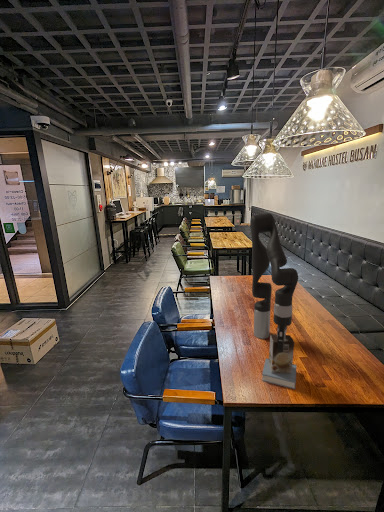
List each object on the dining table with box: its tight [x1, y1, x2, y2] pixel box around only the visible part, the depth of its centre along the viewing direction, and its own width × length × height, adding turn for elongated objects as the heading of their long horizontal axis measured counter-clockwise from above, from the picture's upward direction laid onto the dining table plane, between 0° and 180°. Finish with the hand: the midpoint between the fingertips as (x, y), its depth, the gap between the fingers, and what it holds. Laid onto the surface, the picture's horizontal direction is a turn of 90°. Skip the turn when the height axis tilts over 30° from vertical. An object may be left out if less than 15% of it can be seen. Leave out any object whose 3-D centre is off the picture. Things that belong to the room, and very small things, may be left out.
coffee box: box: [268, 333, 295, 374], centre depth 112 cm, size 9×6×16 cm
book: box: [261, 357, 297, 390], centre depth 115 cm, size 12×14×4 cm
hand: (281, 345), depth 111 cm, fingers open, 8 cm apart
